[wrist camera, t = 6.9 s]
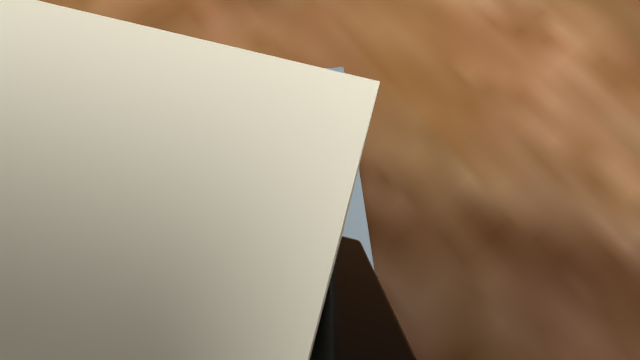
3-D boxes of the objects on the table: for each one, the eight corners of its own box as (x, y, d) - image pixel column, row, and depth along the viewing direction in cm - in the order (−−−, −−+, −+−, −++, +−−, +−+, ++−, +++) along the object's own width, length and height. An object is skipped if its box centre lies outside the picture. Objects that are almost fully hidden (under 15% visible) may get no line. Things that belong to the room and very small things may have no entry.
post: (305, 379, 14) (239, 630, 2) (200, 349, 15) (-313, 442, 3) (333, 271, 15) (379, 81, 4) (235, 244, 16) (-27, -15, 4)
